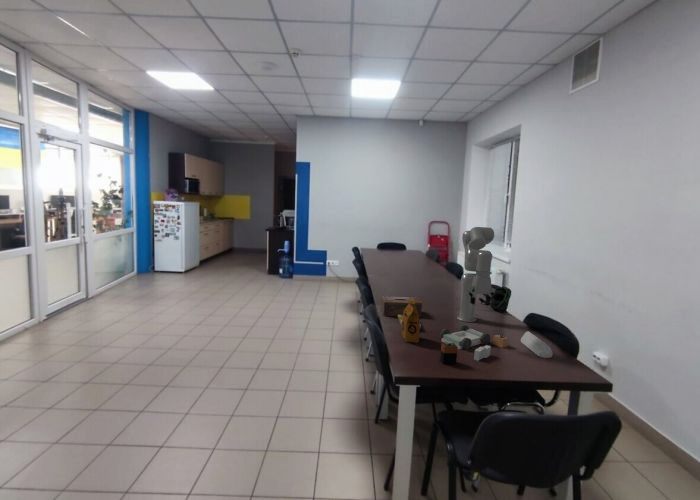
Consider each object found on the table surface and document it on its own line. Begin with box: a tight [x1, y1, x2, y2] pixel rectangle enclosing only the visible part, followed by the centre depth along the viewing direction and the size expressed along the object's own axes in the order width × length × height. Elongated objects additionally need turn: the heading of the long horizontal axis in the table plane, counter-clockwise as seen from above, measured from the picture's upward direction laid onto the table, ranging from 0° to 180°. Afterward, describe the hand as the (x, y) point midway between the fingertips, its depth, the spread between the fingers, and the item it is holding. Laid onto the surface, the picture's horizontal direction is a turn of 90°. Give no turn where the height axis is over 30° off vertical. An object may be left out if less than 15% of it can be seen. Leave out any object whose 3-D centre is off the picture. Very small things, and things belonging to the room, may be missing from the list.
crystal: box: [520, 330, 554, 359], centre depth 207 cm, size 7×7×24 cm
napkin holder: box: [473, 344, 492, 362], centre depth 192 cm, size 15×11×6 cm
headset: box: [478, 286, 512, 312], centre depth 282 cm, size 18×14×29 cm
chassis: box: [439, 324, 491, 351], centre depth 213 cm, size 24×17×6 cm
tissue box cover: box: [379, 295, 423, 318], centre depth 261 cm, size 26×14×10 cm, turn 94°
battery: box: [439, 342, 459, 365], centre depth 184 cm, size 4×7×10 cm, turn 98°
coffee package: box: [401, 299, 421, 344], centre depth 212 cm, size 10×12×22 cm
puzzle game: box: [397, 315, 422, 330], centre depth 236 cm, size 12×5×20 cm
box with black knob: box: [492, 334, 509, 349], centre depth 210 cm, size 6×4×6 cm
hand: (480, 303), depth 212 cm, fingers open, 9 cm apart
